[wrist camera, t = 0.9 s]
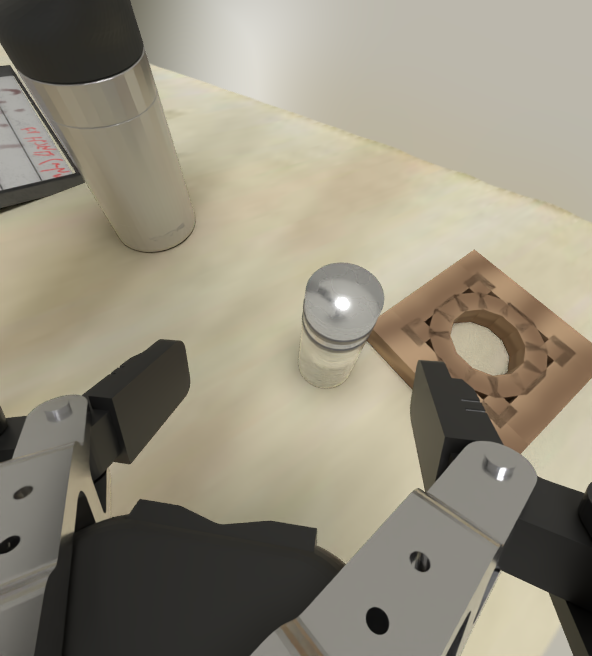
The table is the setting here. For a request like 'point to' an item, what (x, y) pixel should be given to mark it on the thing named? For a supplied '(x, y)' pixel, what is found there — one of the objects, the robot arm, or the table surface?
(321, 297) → the salt shaker
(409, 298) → the ring block
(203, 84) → the table surface
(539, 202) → the table surface
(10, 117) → the shutter
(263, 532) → the robot arm
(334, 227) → the table surface
